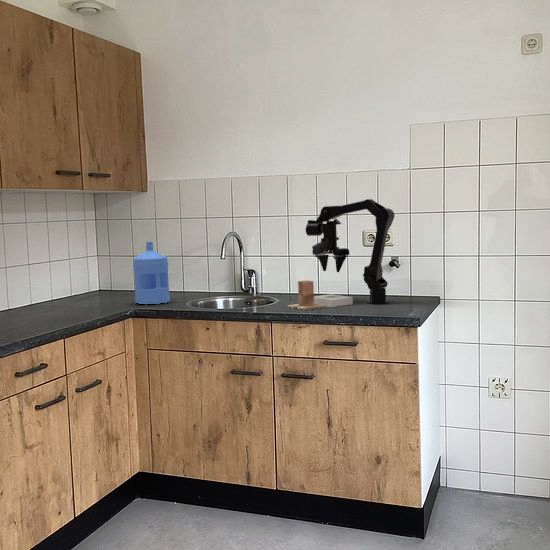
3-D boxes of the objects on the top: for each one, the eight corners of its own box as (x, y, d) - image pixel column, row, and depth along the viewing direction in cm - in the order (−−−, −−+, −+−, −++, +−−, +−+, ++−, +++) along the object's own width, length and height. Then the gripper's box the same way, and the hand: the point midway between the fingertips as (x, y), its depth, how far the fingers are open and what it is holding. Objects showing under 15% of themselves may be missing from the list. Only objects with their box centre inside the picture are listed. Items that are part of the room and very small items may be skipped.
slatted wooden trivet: (325, 307, 269) (325, 305, 269) (305, 310, 264) (305, 308, 263) (307, 304, 280) (307, 302, 280) (287, 307, 275) (287, 305, 274)
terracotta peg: (314, 305, 271) (313, 281, 270) (305, 306, 269) (304, 282, 268) (307, 304, 275) (307, 280, 274) (298, 305, 272) (298, 281, 271)
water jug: (129, 303, 305) (126, 242, 302) (160, 299, 314) (157, 240, 311) (144, 306, 292) (140, 243, 289) (176, 302, 302) (172, 241, 299)
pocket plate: (352, 304, 275) (352, 297, 275) (331, 307, 270) (331, 299, 269) (332, 301, 287) (332, 294, 287) (311, 303, 281) (311, 296, 281)
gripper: (301, 236, 287) (303, 272, 289) (328, 236, 272) (330, 274, 273) (322, 234, 293) (323, 269, 295) (349, 235, 278) (350, 272, 279)
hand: (331, 271), depth 285 cm, fingers open, 9 cm apart
